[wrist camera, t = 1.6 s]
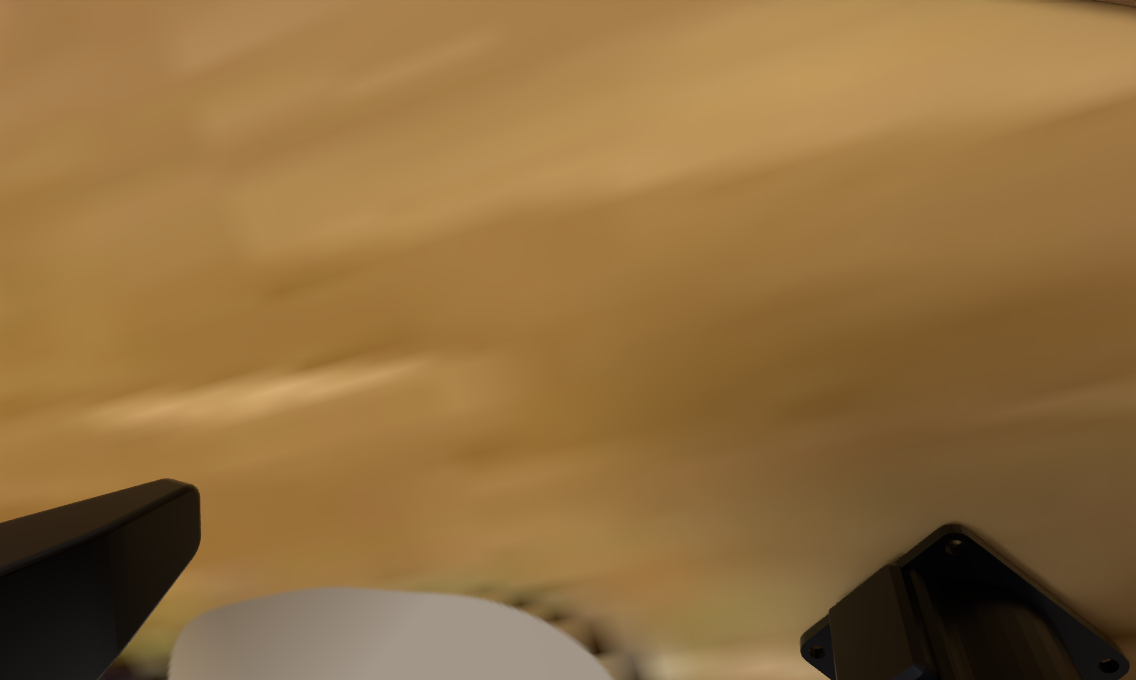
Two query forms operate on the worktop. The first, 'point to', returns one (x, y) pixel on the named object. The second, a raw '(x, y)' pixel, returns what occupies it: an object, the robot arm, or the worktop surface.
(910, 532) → the worktop surface
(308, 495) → the worktop surface
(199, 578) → the worktop surface
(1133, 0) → the board
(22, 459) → the worktop surface
